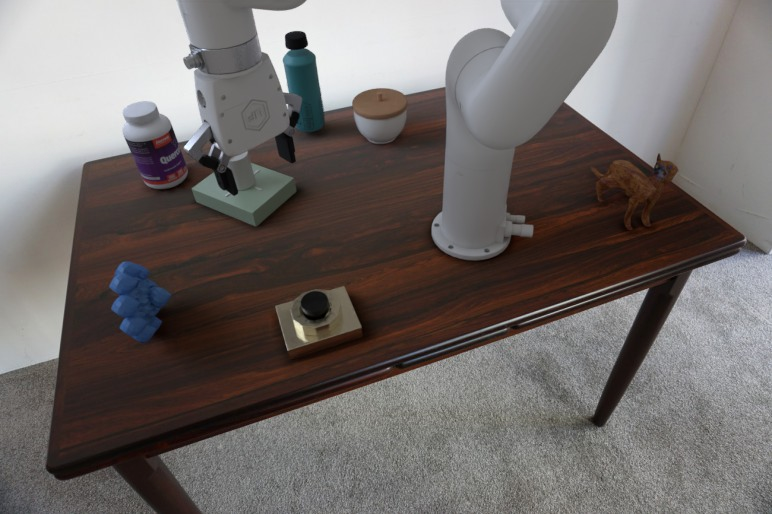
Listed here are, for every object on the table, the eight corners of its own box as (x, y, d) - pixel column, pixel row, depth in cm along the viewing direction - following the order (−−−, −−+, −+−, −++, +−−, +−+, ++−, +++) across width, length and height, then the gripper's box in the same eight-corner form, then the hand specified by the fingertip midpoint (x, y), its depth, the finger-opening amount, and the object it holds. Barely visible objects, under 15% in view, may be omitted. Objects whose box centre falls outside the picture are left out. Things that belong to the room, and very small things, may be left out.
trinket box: (408, 149, 102) (408, 106, 95) (353, 151, 102) (349, 107, 96) (407, 121, 109) (407, 79, 103) (356, 123, 110) (353, 80, 103)
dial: (241, 172, 93) (233, 142, 89) (260, 179, 91) (253, 148, 87) (224, 186, 90) (215, 155, 86) (243, 193, 89) (235, 162, 84)
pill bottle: (176, 194, 94) (148, 123, 84) (137, 189, 96) (104, 119, 86) (197, 168, 100) (172, 98, 90) (159, 164, 101) (130, 95, 91)
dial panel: (296, 191, 94) (293, 177, 91) (256, 227, 87) (252, 212, 85) (238, 170, 99) (234, 156, 97) (196, 202, 92) (190, 187, 90)
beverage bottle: (332, 127, 109) (321, 30, 95) (313, 142, 105) (297, 43, 91) (308, 119, 111) (293, 24, 97) (288, 134, 108) (269, 36, 94)
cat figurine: (573, 176, 94) (591, 106, 84) (606, 170, 95) (628, 100, 85) (628, 241, 81) (657, 168, 72) (666, 234, 82) (700, 161, 73)
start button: (325, 296, 71) (323, 287, 70) (332, 315, 68) (331, 306, 67) (299, 303, 70) (297, 295, 69) (306, 323, 68) (304, 315, 66)
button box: (345, 295, 75) (343, 276, 73) (363, 337, 70) (360, 318, 67) (277, 315, 73) (272, 297, 70) (290, 360, 68) (284, 342, 65)
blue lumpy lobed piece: (184, 356, 69) (152, 296, 60) (131, 368, 68) (91, 309, 59) (186, 292, 77) (158, 232, 69) (138, 302, 76) (104, 242, 68)
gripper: (177, 89, 54) (221, 216, 66) (306, 36, 62) (325, 157, 74) (142, 69, 58) (190, 192, 70) (269, 21, 66) (292, 139, 78)
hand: (259, 174), depth 72 cm, fingers open, 9 cm apart
